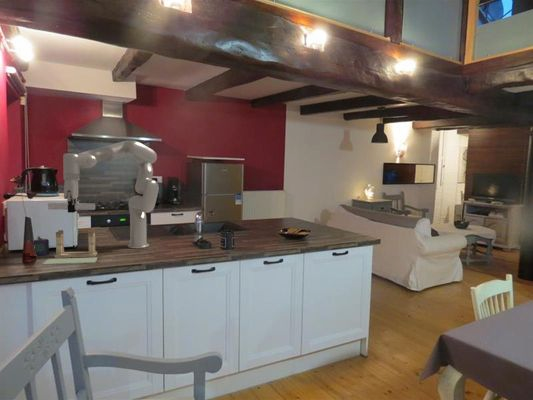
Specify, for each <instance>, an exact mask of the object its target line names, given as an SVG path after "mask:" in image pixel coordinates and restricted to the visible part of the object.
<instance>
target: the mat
mask: <svg viewBox="0 0 533 400" xmlns="http://www.w3.org/2000/svg"><path fill="white" fill-rule="evenodd" d="M97 258H98V257H96V256H95V257H72V258H47V259H46V260H45V261H44V262H43V263H41V264H42V266H49V265H51V266H53V265H56V266H57V265H80V264H81V265H82V264H83V265H84V263H85V264H95V263H96V261H97V260H98V259H97Z"/></svg>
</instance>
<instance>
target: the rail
mask: <svg viewBox="0 0 533 400" xmlns="http://www.w3.org/2000/svg"><path fill="white" fill-rule="evenodd" d="M74 205H75V210H77V211H78V210H82V211H83V210H85V211H87V210H89V211H94V210H96V203H94V202H93V203H92V202H91V203H89V202H87V203H86V202H84V203H80V202H76V203H74ZM47 209H48V210H62V211H63V210H67V211H68V202H49V203H47Z"/></svg>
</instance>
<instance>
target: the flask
mask: <svg viewBox="0 0 533 400" xmlns="http://www.w3.org/2000/svg"><path fill="white" fill-rule="evenodd" d="M33 240H34V245H35V252H36V255H37V256H38V257H45V256H46V257H47V256H50V242H49V241H50V240H49V239H47V238H42V237H41V236H40V235H39V236H37V237H36V239H33Z"/></svg>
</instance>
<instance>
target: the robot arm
mask: <svg viewBox="0 0 533 400" xmlns="http://www.w3.org/2000/svg"><path fill="white" fill-rule="evenodd" d="M157 155H158V154H157V153H156V151H154V150H153V149H152V148H150V147H149V146H147V145H145V144H143V143H142V142H140V141H137V140H134V139H133V140H123V141H119V142H116V143H112V144H108V145H106V146H102V147H98V148H94V149H90V150H86V151H82V152H79V153H64V154H63V156H62V157H63V159H62V160H63V171H62V172H63V180H64V186H63V199H64V200H66V201H67V203H68V210H67V213H70V214H71V213H75V212H77V211H78V210H75V205H74V203H77V198H78V197H79V181H80V179H81V176H80V175H81V174H80V173H81V172H80V170H81V169H80V168H86V169H91V168H94V167H95V166H96V164H97V163H101V162H102V163H103V162H111V161H115V160H117V159H121V158H123V157H124V158H125V157H128V156H133V160H134V161H135V162H136V164H137V167H138V173H137V178H136V182H135V186H134V189H135V192H137V194H141V195H134V196H131V197H130V198H129V200H128V203H127V204H128V211H129V219H130V220H129V221H130V222H129V223H130V224H129V229H130V230H129V233H130V235H129V236H130V237H129V238H130V239H129V241H130V242H129V243H128V244H127V247H128V248H129V249H144V248H147V247H150V244H149V242H147V213H152V211H154V209H155V206H156V203H157V198H158V194H159V192H160V191H159V190H160V189H159V184H158V182H157V181H156V180H154V179H153V175H154V169H153V164H155V163H156V162H157V159H158V158H157V157H158V156H157Z"/></svg>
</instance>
